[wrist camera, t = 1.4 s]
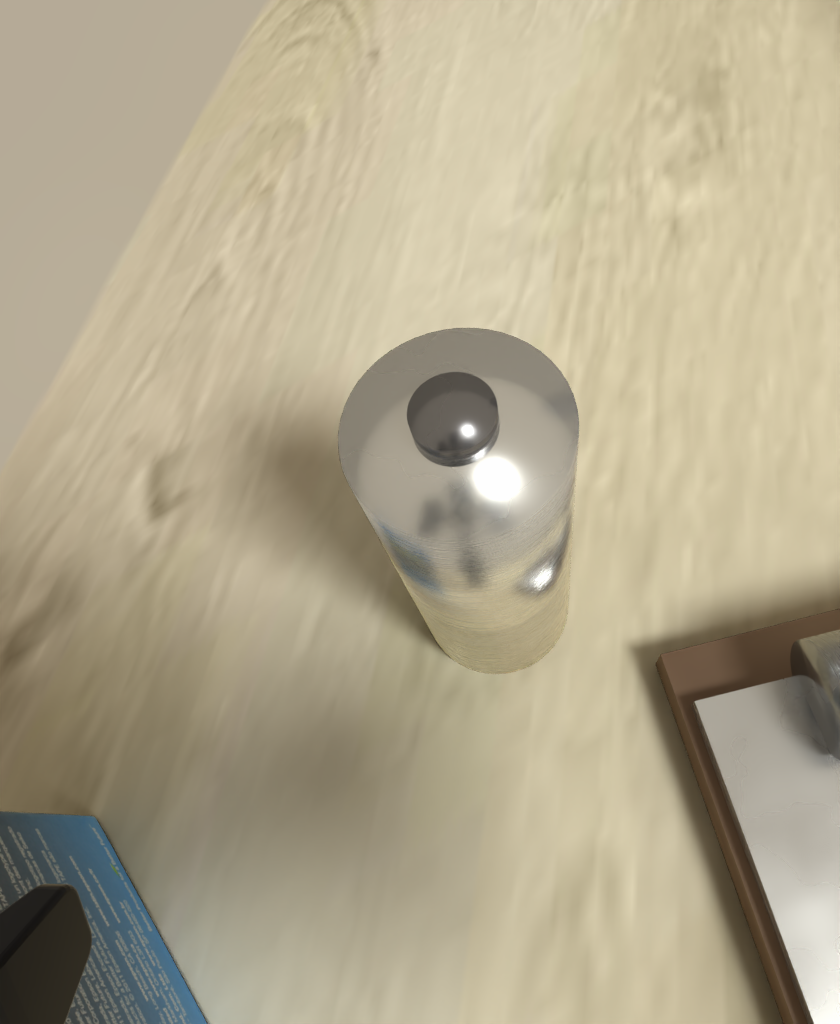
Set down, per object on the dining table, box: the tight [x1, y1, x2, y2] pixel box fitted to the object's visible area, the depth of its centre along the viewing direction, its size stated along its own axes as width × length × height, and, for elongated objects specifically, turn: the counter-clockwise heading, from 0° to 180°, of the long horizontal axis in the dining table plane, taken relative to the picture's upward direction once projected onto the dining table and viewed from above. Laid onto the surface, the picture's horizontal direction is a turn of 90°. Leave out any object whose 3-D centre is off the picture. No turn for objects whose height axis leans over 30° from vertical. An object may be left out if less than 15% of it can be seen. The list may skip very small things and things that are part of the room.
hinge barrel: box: [338, 328, 579, 674], centre depth 19 cm, size 4×4×12 cm
